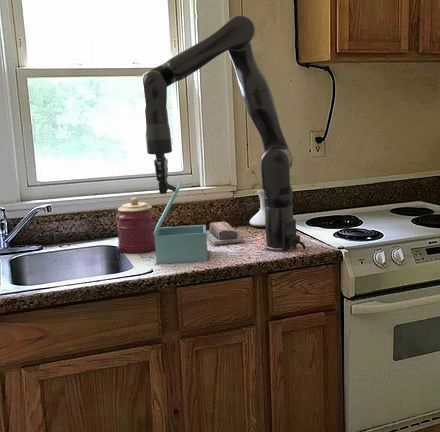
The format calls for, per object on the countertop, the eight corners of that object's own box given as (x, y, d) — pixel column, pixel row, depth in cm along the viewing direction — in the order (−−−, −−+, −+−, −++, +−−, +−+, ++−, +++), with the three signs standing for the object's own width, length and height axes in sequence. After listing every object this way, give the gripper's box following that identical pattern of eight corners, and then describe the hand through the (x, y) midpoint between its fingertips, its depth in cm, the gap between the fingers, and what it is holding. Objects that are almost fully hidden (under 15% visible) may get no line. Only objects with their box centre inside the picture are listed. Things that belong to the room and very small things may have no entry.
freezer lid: (181, 182, 206) (166, 174, 205) (179, 188, 193) (163, 180, 192) (158, 227, 207) (143, 219, 206) (155, 235, 195) (139, 227, 194)
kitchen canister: (146, 242, 226) (142, 193, 223) (164, 248, 217) (160, 196, 213) (112, 249, 218) (107, 198, 215) (130, 255, 208) (125, 202, 205)
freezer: (207, 250, 211) (205, 224, 209) (207, 260, 199) (205, 233, 197) (159, 253, 209) (157, 227, 207) (156, 264, 197) (154, 236, 195)
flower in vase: (267, 221, 253) (264, 158, 249) (285, 225, 245) (282, 160, 240) (240, 226, 246) (236, 162, 241) (257, 231, 237) (253, 164, 232)
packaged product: (203, 222, 233) (230, 219, 236) (204, 235, 234) (231, 232, 237) (213, 232, 216) (242, 229, 219) (214, 246, 217) (242, 242, 220)
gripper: (169, 138, 189) (175, 195, 193) (171, 135, 203) (177, 187, 207) (143, 140, 188) (149, 197, 192) (148, 137, 202) (153, 189, 206)
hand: (163, 192), depth 199 cm, fingers closed on freezer lid, 5 cm apart
